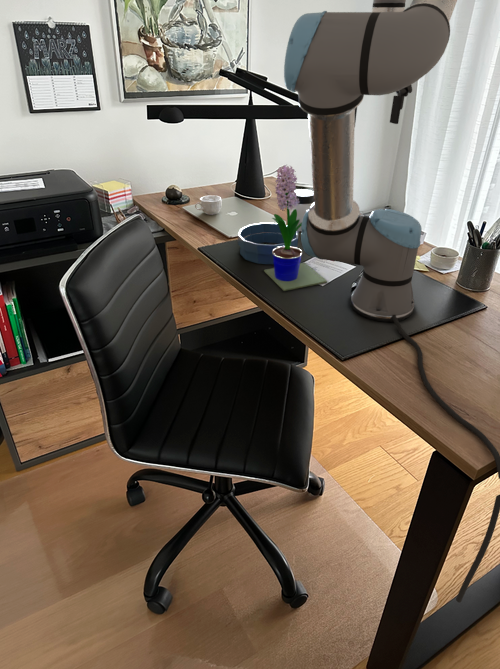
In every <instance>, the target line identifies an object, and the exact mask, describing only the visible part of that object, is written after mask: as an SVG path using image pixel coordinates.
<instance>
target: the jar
mask: <svg viewBox="0 0 500 669" xmlns="http://www.w3.org/2000/svg"><path fill="white" fill-rule="evenodd" d="M295 193H296V194H297V195H296V196H297V198H296V199H298V198H299V200H298V201H299V205H298V204H297V206H296V208H295V206H294V205H292V206H294V208H292V209H290V208H289V212H290V215H291V213H292V211H293V210H294V209H296V210H297V219H296V220H300V221H299V223H298V225H299V224H300V223H301V222H302V220H303V217H304V215H305V213H306V211H307V210H308V209H309V208H310V207H311V205H312V204H313V203H314V194H313V190H311V189H305V188H303V189H302V188H301V189H295ZM295 201H296V200H295ZM298 225H297V226H298ZM297 231H298V232H302V230H301V227H300V228H299V229H298V230H297Z"/></svg>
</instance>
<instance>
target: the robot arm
mask: <svg viewBox="0 0 500 669" xmlns="http://www.w3.org/2000/svg"><path fill="white" fill-rule="evenodd" d="M406 2H407V0H372V6H371V7H372V8H371V11H350V12H349V11H327V10H323V11H321V12H308V13H304V14H302V15H301V16H299V17H298V18H297V19H296V21H295V23H294V24H293V27H292V29H291V31H290V34H289V38H288V42H287V46H286V50H285V57H284V66H283V82H284V85H285V87H286V89H287V90H288V91H290V92H291V93H296V92H297V95H298V96H297V97H298V104H299V105H298V106H299V108H300V109H301V110H302V111H303V112H305V113H306V114H307V118H308V132H309V133H308V134H309V147H310V150H309V151H310V162H311V163H310V164H311V178H312V191H313V194H314V203H313V204H312V205H311V207H310V208H309V209H308V210H307V211H306V213H305V215H304V217H303V220H302V226H301V230H302V231H301V233H300V242H301V247H302V249H303V251H304V253H305V254H306V255H307V256H309V257H312V258H315V259H316V258H317V259H319V260H326V261H331V262H338V263H342V264H343V263H344V264H349V265H355V266H361V267H362V273H361V276H360V279H359V281H358V282H357V284H356V287H355V289H354V290H353V292H352V294H351V296H350V297H351V298H350V307H351V309H353V311H354V312H355V313H357V314H358V315H360V316H361V317H363V318H365V319H369V320H372V321H376V322H384V323H385V322H386V323H394V324H395V327H396V329H397V331H398V333H399V334H400V335H401V337H402V338H403V339H404V340H406V341H407V342H408V343H409V344H410V345H411V346H413V348H414V350H415V351H416V353H417V354H416V355H417V367H418V368H417V369H418V371H419V375H420V378H421V381H422V382H423V384H424V386H425V388H426V390H427V392H428V393H429V394H430V395H431V397H432V398H433V399H434V401H435V402H436V403H437V404H438V405H439V406H440V407H441V409H443V410H444V411H445V412H446V413H447V414H448V415H450V417H452V418H453V419H454V420H455V421H456V422H457V423H459V424H460V425H461V426H463V427H464V428H466V429H467V430H469V431H470V432H471V433H472V434H474V435H475V436H476V437H477V438H478V439H479V440H480V441H481V442H482V443H483V444H484V445H485V447H486V448H487V449H488V450H489V452H490V453H491V454H492V456H493V459H494V462H495V465H496V471H497V477H498V479H499V480H500V452H499V451H498V449H497V448H496V446H494V444H493V443H492V442H491V441H490V439H489V438H488V437H487V436H486V435H485V434H484V433H483V432H482V431H481V430H480V429H478V428H477V427H476V426H474V425H473V424H472V423H470V422H468V421H467V420H466V419H464V418H463V417H462V416H461V415H459V413H457V412H456V411H455V410H453V408H451V406H449V405H448V404H447V403H446V402H445V401H444V400H443V399H442V398H441V397H440V395H438V393H437V392H436V391H435V389H434V388H433V387H432V385H431V384H430V382H429V380H428V377H427V374H426V372H425V368H424V362H423V360H424V359H423V358H424V357H423V356H424V355H423V351H422V348H421V347H420V345H419V344H418V343H417V342H416V341H415V340H414V339H413V338H412V337H410V336H409V334H407V333H406V331H404V329H403V327H402V326H401V324H400V321H404V320H406V319H408V318H409V317H411V316H412V314H413V313H414V309H415V299H414V292H413V291H414V290H413V284H412V282H413V281H412V280H413V275H414V270H415V266H416V261H417V256H418V251H419V248H420V246H421V237H422V224H421V223H420V221H419V220H418V219H417V218H415V217H414V216H412V215H411V214H408V213H405V212H403V211H400V210H396V209H391V208H385V209H384V208H379V209H375V210H373V211H371V213H370V215H368V214H367V215H366V214H361V210H360V206H359V204H358V203H357V202H356V201H355V199H354V178H355V177H354V172H355V171H354V170H355V128H356V121H357V113H358V107H359V106H360V105H361V103H362V102H363V100H364V97H365V96H386V95H390V94H393V93H395V94H396V95H393V96H392V105H391V111H390V117H389V123H390V124H393V125H398V124H399V123H400V122H399V121H400V115H401V110H403V107H404V103H405V98H406V97H408V95H409V94H412V92H413V84H415V83H416V82H417V81H419V80H420V79H422V78H423V77H424V76H426V75H427V74H428V73H430V71H431V70H433V68H435V67H436V65H437V64H438V63H439V61H441V59H442V57H443V55H444V54H445V52H446V49H447V47H448V44H449V41H450V36H451V23H450V20H451V19H452V16H453V13H454V10H455V8H456V5H457V3H458V0H412V1H411V3H410V5H409V6H408V7H407V8H406ZM499 515H500V494H497V495H495V500H494V504H493V508H492V512H491V516H490V518H489V523H488V526H487V529H486V532H485V535H484V538H483V540H482V543H481V545H480V547H479V550H478V551H477V554H476V556H475V558H474V560H473V562H472V564H471V566H470V568H469V570H468V571H467V574H466V575H465V578H464V580H463V582H462V584H461V586H460V588H459V591H458V593H457V596H456V598H455V601H456V603H462V600H463V599H464V596H465V594H466V593H467V590H468V588H469V586H470V584H471V582H472V580H473V578H474V576H475V575H476V573H477V570H478V569H479V567H480V564H481V563H482V561H483V559H484V558H485V557H484V556H485V555H486V552H487V550H488V548H489V545H490V542H491V540H492V538H493V535H494V533H495V532H494V531H495V529H496V526H497V523H498V519H499Z"/></svg>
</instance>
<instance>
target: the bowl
mask: <svg viewBox="0 0 500 669" xmlns="http://www.w3.org/2000/svg"><path fill="white" fill-rule="evenodd" d="M286 226H287V224H286ZM299 235H300V231H296V233H295V234H294V236H293V238H292V241H291V245H290V246H292V247H296V248H298V246H299ZM264 243H266V244H264ZM267 243H269V244H267ZM271 243H272V244H271ZM237 245H238V246H239V255H240V256H241V257H242V258H243V259H244V260H245V261H248V262H251V263H255V264H258V265H259V264H260V265H274V260H273V253H272V251H273V249H275V248H277V247H281V246H285V245H284V240H283V237H282V234H281V231H280V228H279V226H278V224H277V222H259V223H252V224H251V223H250V224H248V225H246V226H243V227H242V228H240V229H239V231H238V233H237Z"/></svg>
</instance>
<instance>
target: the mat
mask: <svg viewBox="0 0 500 669" xmlns="http://www.w3.org/2000/svg"><path fill="white" fill-rule="evenodd" d="M263 272H264V273H265V274H266V275H267V276H268V277H269V278H270V279H271V280H272V281H273V282H274V283H275V284H276V285H277V286H278V287H279V288H280V289H281V290H282V291H283V292H287V291H293V290H297V289H303V288H307V287H312V286H318V285H322V284H327V283H328V280H326V278H324V277H323V276H321V275H320V274H319V273H318V272H317V271H316V270H314V269H313V268H312V267H311V266H309V264H307V263H306V262H300V266H299V271H298V276H297V278H296V279H295V280H292V281H281V280H278V279H277V278H276V277H275V271H274V267H271V268H267V269H264V270H263Z"/></svg>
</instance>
